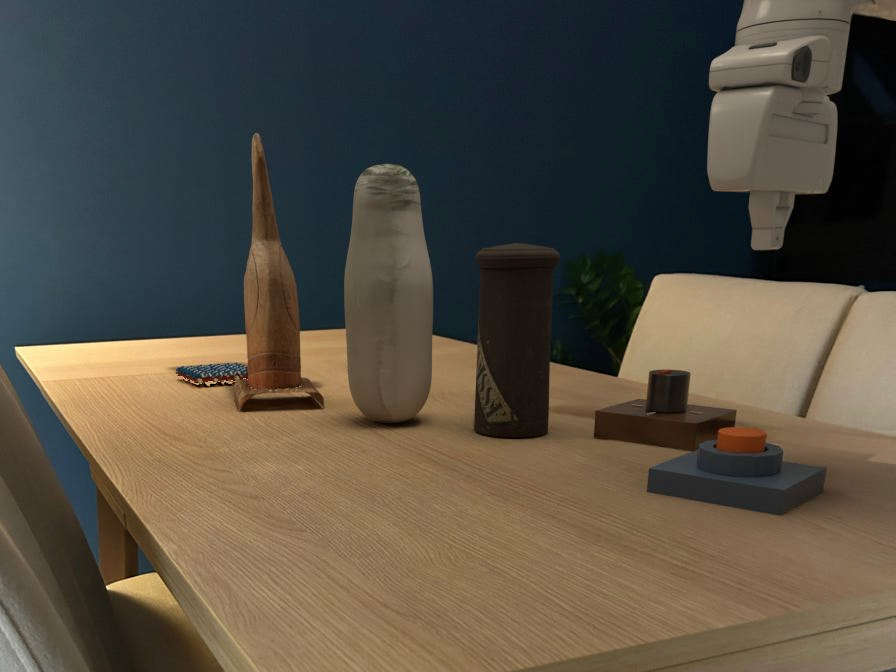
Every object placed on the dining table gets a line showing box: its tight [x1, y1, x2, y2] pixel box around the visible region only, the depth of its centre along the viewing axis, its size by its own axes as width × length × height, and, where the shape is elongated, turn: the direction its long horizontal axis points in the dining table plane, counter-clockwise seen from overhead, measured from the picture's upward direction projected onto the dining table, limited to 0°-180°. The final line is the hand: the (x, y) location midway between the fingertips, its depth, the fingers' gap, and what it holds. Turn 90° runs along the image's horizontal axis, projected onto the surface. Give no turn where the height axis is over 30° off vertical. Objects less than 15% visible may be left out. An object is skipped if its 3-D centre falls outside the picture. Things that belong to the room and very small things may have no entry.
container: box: [473, 242, 561, 438], centre depth 107 cm, size 9×9×20 cm
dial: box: [646, 368, 692, 413], centre depth 106 cm, size 4×4×4 cm
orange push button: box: [716, 426, 768, 453], centre depth 84 cm, size 4×4×2 cm
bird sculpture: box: [232, 132, 325, 411], centre depth 123 cm, size 11×12×32 cm
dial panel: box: [593, 398, 738, 452], centre depth 107 cm, size 12×10×3 cm
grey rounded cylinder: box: [343, 163, 434, 424], centre depth 112 cm, size 10×10×28 cm
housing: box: [646, 440, 828, 516], centre depth 85 cm, size 12×10×4 cm
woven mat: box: [175, 361, 248, 384], centre depth 147 cm, size 10×11×2 cm
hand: (766, 249), depth 86 cm, fingers closed
